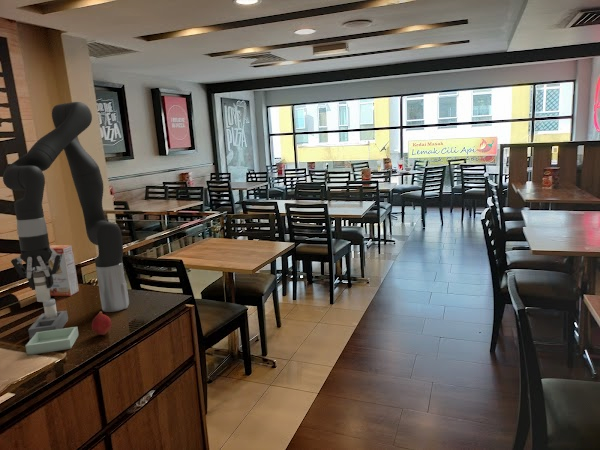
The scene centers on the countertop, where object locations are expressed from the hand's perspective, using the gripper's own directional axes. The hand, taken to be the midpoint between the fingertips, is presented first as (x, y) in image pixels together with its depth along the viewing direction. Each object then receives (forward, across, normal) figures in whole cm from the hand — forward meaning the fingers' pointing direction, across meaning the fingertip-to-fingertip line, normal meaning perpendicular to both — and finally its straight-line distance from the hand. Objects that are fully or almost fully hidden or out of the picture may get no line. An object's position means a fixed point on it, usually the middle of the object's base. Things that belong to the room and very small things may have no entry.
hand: (41, 288), depth 134 cm
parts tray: (+18, -1, 0) cm, 19 cm away
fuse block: (+18, +4, -14) cm, 23 cm away
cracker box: (+18, +12, -54) cm, 58 cm away
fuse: (+18, +4, -17) cm, 26 cm away
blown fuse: (+4, 0, 0) cm, 4 cm away
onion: (+19, -15, -2) cm, 24 cm away
